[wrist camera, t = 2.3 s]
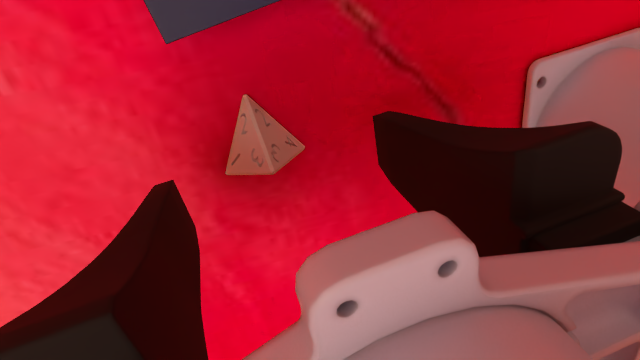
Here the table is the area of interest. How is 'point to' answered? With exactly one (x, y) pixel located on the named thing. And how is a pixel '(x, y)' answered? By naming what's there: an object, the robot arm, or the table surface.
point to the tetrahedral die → (260, 143)
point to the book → (196, 14)
